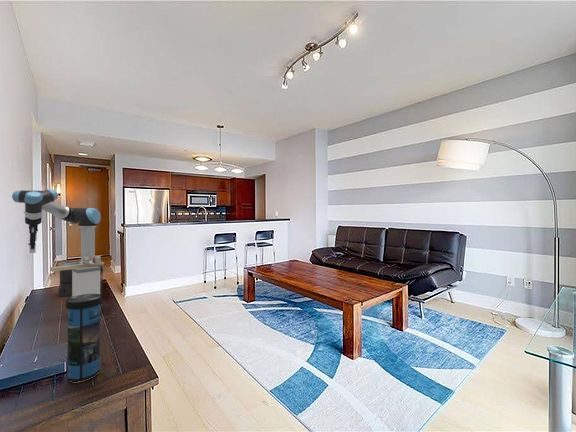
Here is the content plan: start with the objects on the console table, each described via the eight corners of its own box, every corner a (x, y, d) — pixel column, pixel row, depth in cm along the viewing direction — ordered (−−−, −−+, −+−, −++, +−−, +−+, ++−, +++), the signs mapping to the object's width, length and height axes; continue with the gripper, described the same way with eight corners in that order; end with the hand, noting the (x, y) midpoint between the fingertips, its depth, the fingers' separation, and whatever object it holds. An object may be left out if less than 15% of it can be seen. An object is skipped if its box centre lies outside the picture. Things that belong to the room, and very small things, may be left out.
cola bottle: (105, 297, 208) (105, 256, 207) (96, 300, 199) (97, 257, 199) (95, 296, 209) (95, 255, 208) (85, 300, 200) (85, 257, 200)
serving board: (50, 270, 165) (50, 260, 165) (102, 264, 185) (102, 255, 185) (51, 271, 163) (51, 261, 163) (104, 265, 182) (104, 256, 182)
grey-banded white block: (72, 312, 177) (72, 267, 176) (94, 307, 186) (94, 264, 185) (76, 317, 169) (77, 269, 168) (100, 312, 178) (100, 267, 177)
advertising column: (108, 369, 114) (108, 294, 114) (84, 386, 103) (84, 303, 103) (84, 366, 116) (84, 292, 116) (57, 382, 105) (57, 301, 104)
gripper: (26, 206, 177) (26, 235, 185) (23, 227, 160) (23, 258, 168) (42, 207, 182) (41, 235, 189) (40, 227, 165) (40, 257, 173)
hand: (33, 246), depth 179 cm, fingers open, 13 cm apart
